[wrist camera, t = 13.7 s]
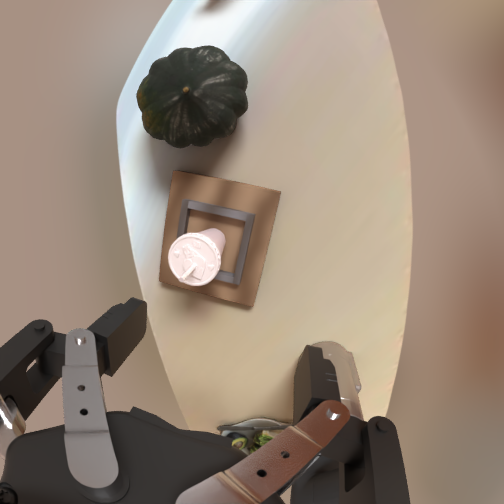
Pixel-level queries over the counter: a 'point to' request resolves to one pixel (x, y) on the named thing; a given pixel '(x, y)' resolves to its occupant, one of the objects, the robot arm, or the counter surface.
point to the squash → (192, 96)
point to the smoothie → (197, 256)
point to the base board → (222, 230)
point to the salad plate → (252, 433)
